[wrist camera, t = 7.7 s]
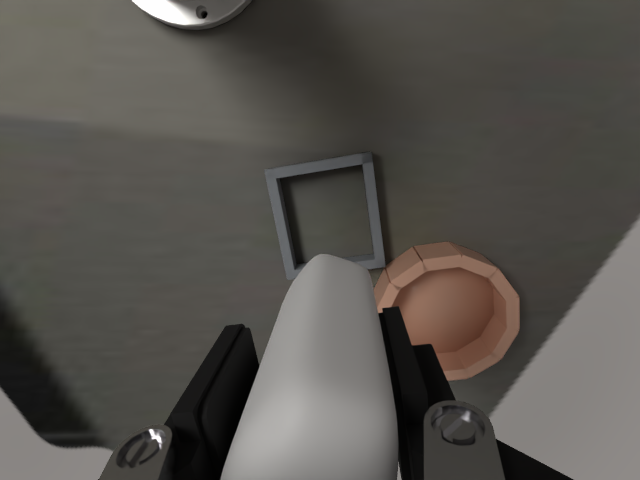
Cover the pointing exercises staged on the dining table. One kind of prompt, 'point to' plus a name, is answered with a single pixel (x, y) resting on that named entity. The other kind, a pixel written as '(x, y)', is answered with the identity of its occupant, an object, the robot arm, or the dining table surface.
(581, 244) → the dining table surface
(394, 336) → the robot arm
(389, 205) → the dining table surface
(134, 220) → the dining table surface
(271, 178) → the open rectangular frame
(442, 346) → the bowl
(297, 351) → the eye dropper bottle
